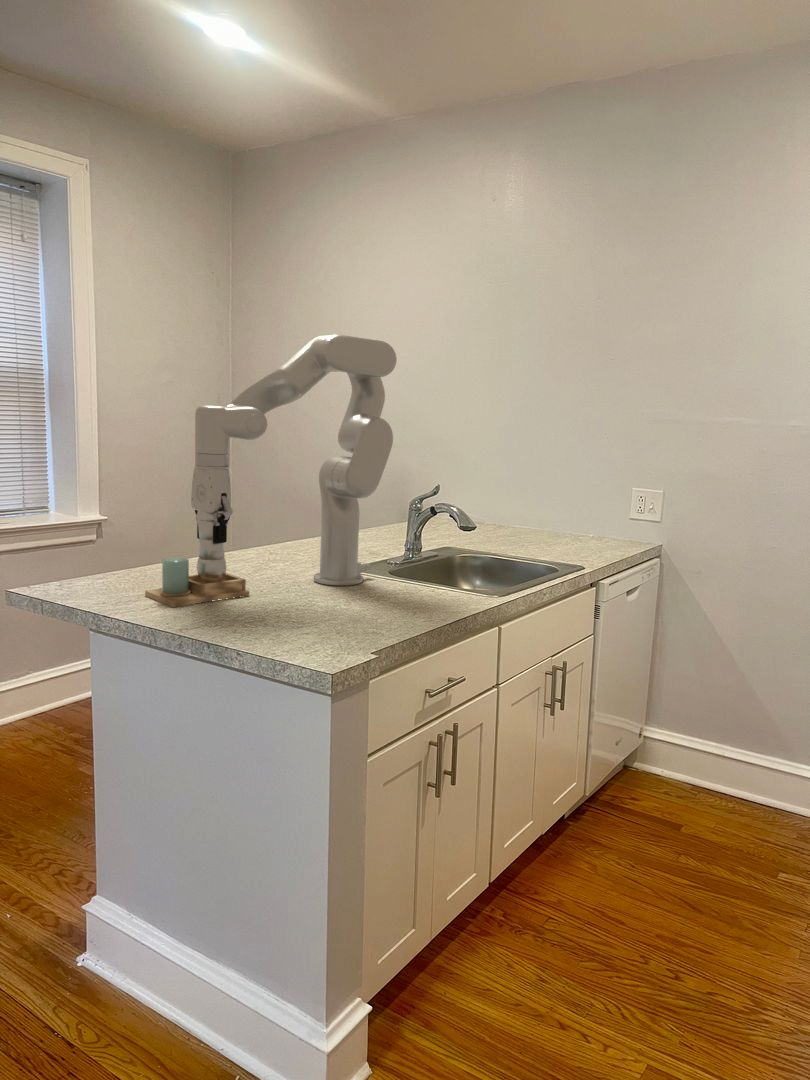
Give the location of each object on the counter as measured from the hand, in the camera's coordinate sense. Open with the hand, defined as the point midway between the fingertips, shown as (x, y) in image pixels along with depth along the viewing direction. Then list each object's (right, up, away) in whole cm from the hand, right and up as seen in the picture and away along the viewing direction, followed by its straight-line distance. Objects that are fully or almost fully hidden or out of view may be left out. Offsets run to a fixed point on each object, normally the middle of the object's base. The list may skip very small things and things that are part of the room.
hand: (211, 539), depth 182 cm
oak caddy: (-3, -13, 0) cm, 13 cm away
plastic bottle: (0, -9, +2) cm, 9 cm away
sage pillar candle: (-7, -11, -4) cm, 14 cm away
